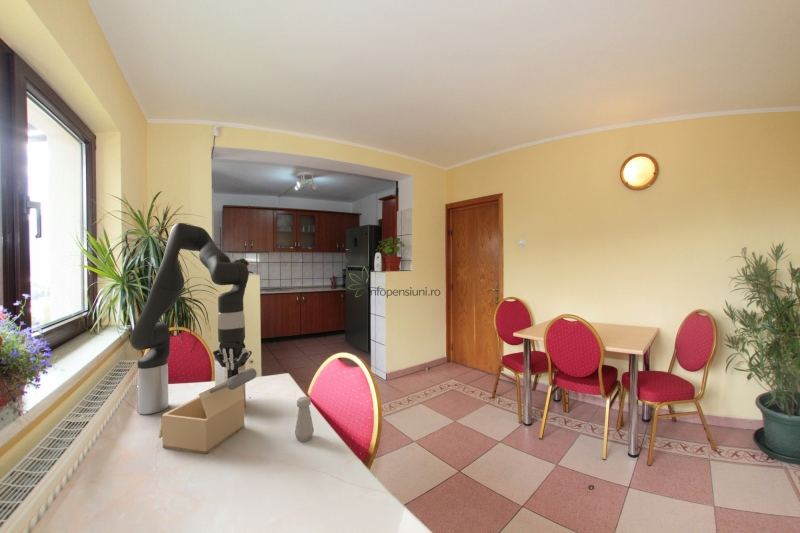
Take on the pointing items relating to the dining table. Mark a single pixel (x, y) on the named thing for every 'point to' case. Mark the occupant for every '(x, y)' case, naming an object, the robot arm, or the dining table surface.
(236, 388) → the door with pull handle
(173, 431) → the tan open box
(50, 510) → the dining table surface
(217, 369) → the cracker box
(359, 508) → the dining table surface
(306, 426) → the salt shaker
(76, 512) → the dining table surface
